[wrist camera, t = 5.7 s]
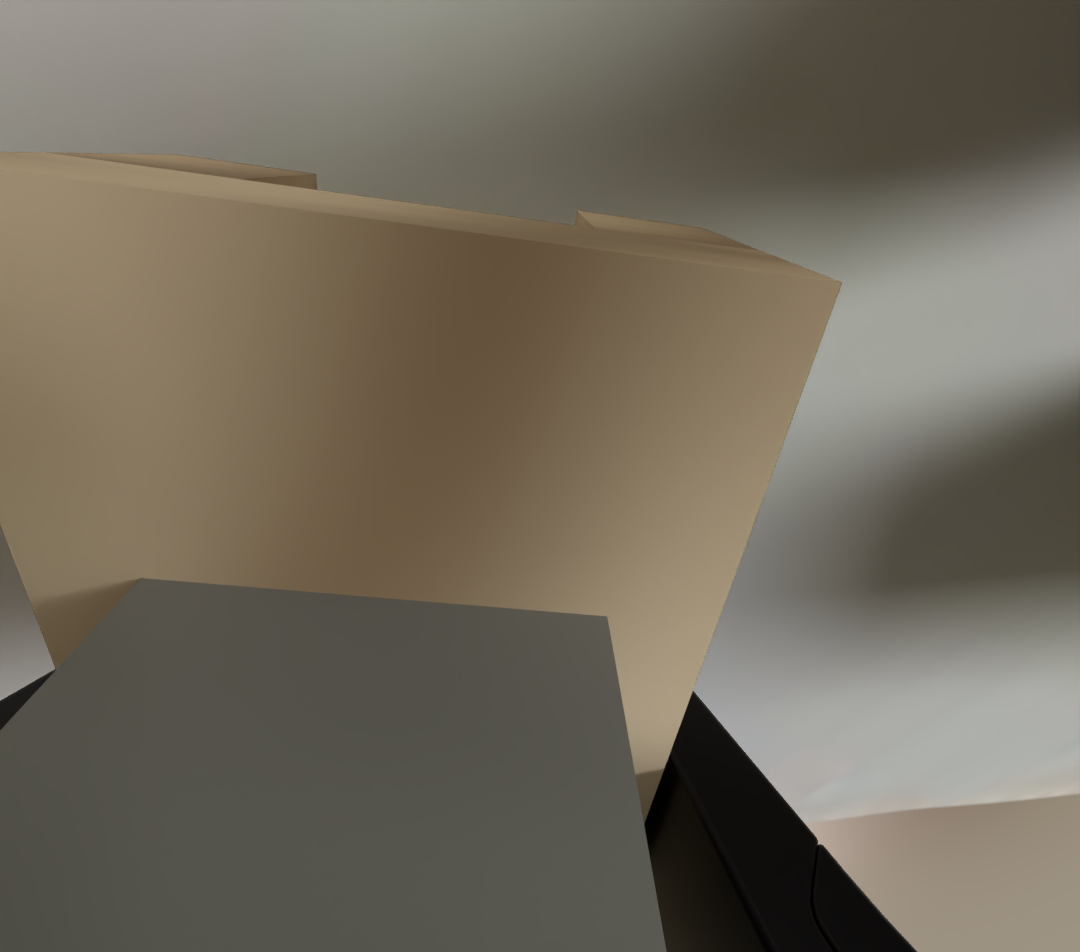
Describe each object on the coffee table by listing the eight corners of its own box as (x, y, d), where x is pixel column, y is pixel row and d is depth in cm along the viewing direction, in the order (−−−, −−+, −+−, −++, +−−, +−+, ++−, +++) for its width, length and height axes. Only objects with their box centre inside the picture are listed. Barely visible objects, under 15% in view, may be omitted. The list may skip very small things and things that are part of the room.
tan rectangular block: (701, 228, 7) (843, 282, 4) (558, 817, 13) (568, 1030, 10) (178, 154, 6) (-146, 150, 3) (276, 802, 12) (191, 1020, 9)
